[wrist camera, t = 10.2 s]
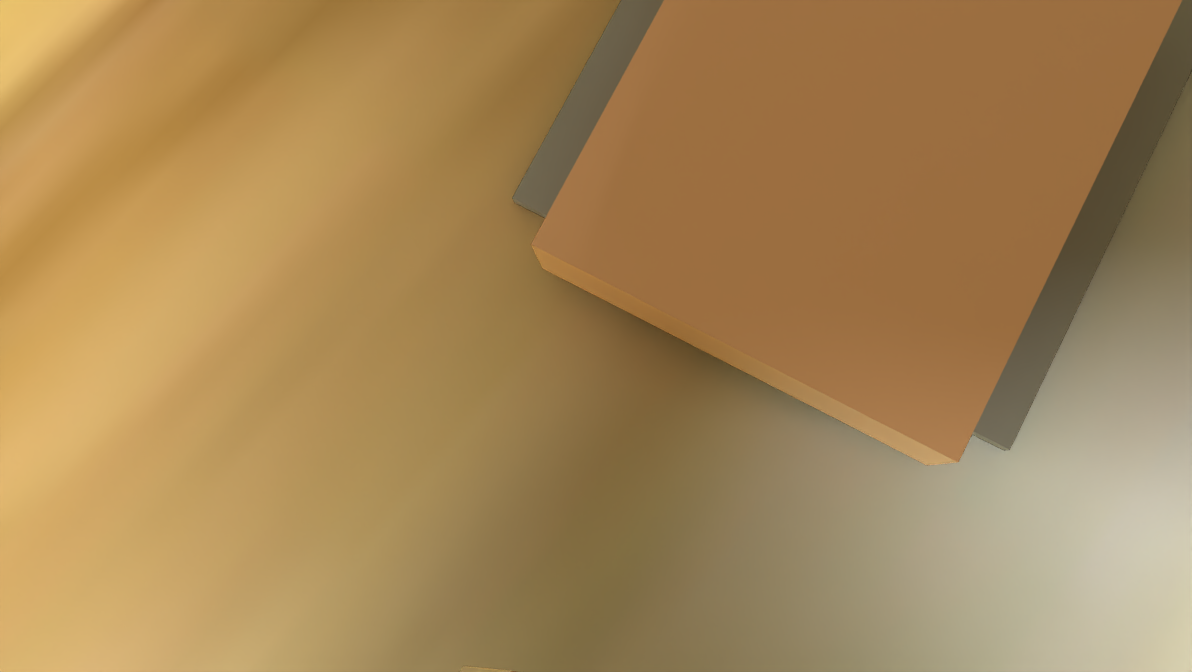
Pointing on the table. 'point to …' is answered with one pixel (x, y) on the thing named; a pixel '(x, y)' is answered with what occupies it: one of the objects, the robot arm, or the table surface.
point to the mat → (1050, 318)
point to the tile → (852, 190)
